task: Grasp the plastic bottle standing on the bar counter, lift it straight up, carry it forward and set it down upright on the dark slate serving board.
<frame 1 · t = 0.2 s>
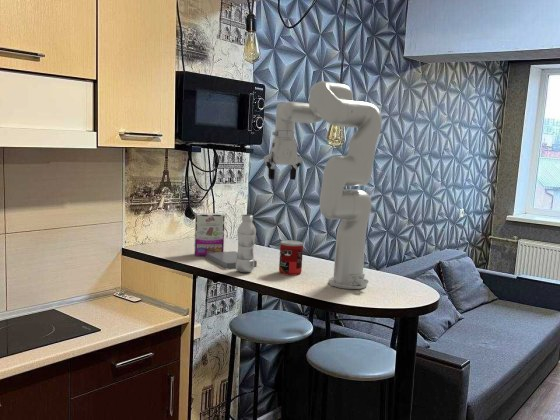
hand: (282, 179, 214), 31 cm above the worktop, tool pointing down, fingers open, 9 cm apart
candy bar box: (208, 255, 214), on the worktop
plastic bottle: (244, 272, 190), on the worktop
slate board: (230, 262, 203), on the worktop
canned food: (290, 273, 192), on the worktop
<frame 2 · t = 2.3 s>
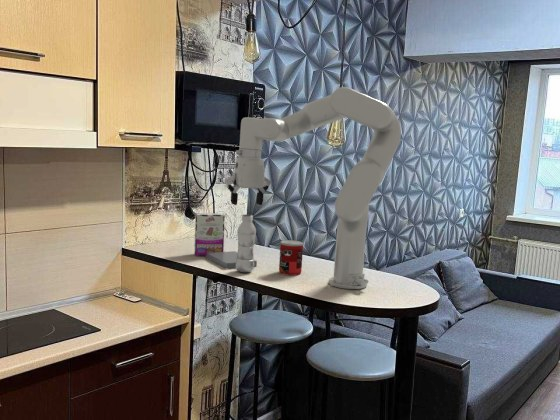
hand: (246, 204, 187), 24 cm above the worktop, tool pointing down, fingers open, 9 cm apart
nothing on the worktop moved.
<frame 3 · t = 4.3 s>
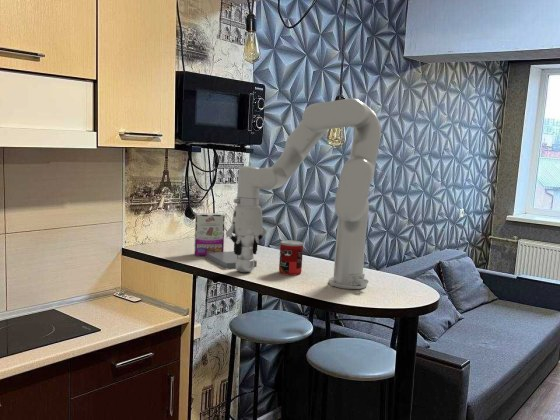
hand: (245, 253, 189), 7 cm above the worktop, tool pointing down, fingers closed on plastic bottle, 5 cm apart
plastic bottle: (244, 272, 190), on the worktop, touching gripper
everything else where it was.
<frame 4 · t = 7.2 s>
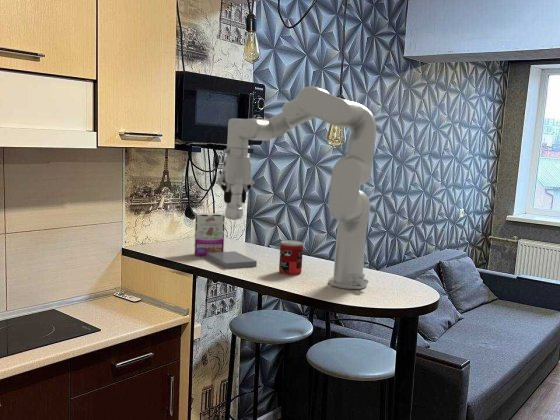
hand: (234, 202, 199), 23 cm above the worktop, tool pointing down, fingers closed on plastic bottle, 5 cm apart
plastic bottle: (233, 220, 200), point 16 cm above the worktop, touching gripper
everything else where it was.
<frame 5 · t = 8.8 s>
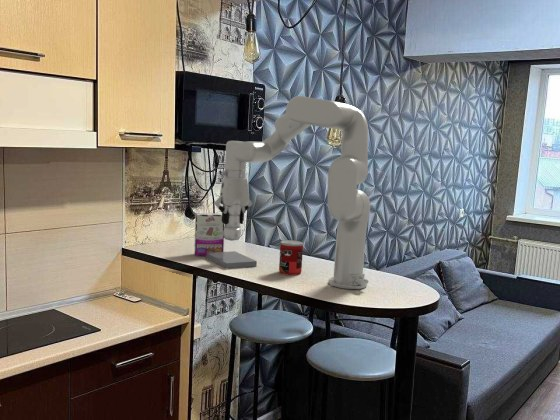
hand: (232, 223, 201), 15 cm above the worktop, tool pointing down, fingers closed on plastic bottle, 5 cm apart
plastic bottle: (231, 240, 202), point 8 cm above the worktop, touching gripper
everything else where it was.
when the fingers open (9 cm above the worktop, at t = 10.2 s): plastic bottle moves 1 cm, resting on slate board.
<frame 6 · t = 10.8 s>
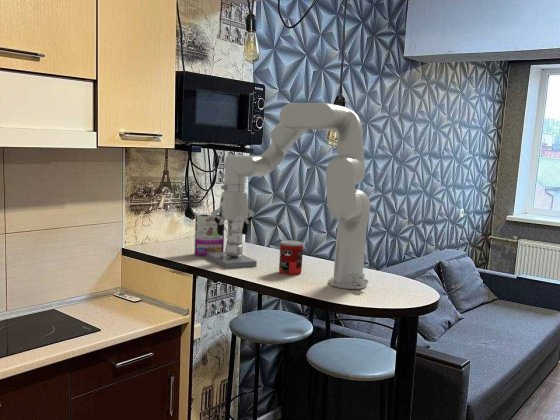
hand: (232, 234, 202), 10 cm above the worktop, tool pointing down, fingers open, 9 cm apart
plastic bottle: (233, 257, 204), point 2 cm above the worktop, touching slate board
everything else where it was.
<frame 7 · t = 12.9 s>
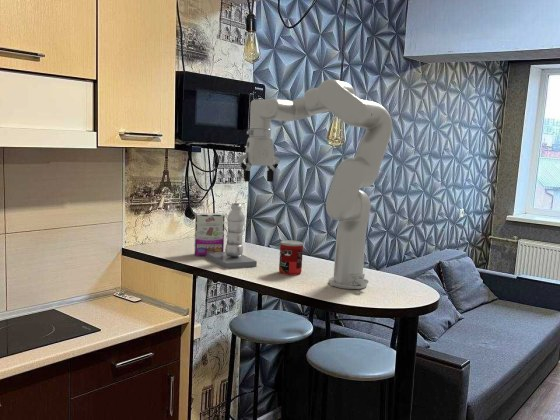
hand: (258, 181, 199), 31 cm above the worktop, tool pointing down, fingers open, 9 cm apart
nothing on the worktop moved.
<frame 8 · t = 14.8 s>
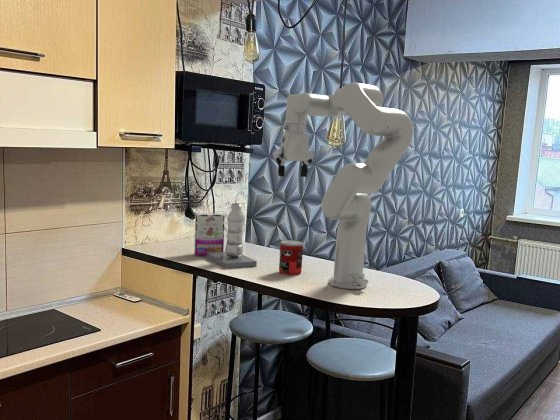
hand: (292, 176, 199), 33 cm above the worktop, tool pointing down, fingers open, 9 cm apart
nothing on the worktop moved.
at the end: plastic bottle inside the target area on the slate board (1.1 cm from its centre), point 1.8 cm above the slate board's base; plastic bottle tilted 0°; the gripper is holding nothing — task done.
